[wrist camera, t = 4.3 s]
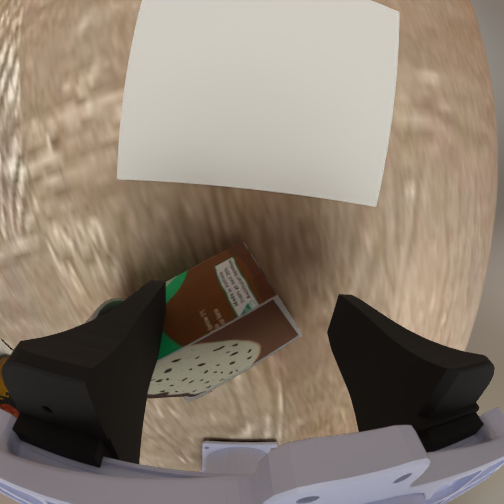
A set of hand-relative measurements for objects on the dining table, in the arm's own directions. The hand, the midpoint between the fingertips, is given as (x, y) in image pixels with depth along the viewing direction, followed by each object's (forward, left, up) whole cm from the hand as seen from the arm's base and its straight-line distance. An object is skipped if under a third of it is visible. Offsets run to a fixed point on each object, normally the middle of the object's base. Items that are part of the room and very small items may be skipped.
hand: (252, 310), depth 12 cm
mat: (+11, 0, -7) cm, 13 cm away
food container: (0, -1, -4) cm, 5 cm away
